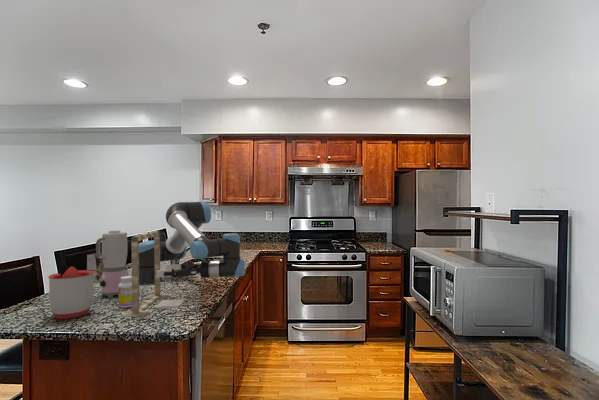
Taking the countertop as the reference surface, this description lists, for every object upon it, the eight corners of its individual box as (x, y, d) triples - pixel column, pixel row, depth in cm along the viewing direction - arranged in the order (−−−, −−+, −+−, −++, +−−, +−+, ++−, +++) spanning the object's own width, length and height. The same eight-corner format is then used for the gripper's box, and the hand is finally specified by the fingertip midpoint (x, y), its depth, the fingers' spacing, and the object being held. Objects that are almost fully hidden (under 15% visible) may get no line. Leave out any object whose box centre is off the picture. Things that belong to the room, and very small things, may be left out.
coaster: (162, 301, 159) (162, 299, 160) (184, 300, 160) (184, 299, 160) (155, 308, 150) (155, 306, 150) (178, 307, 150) (178, 305, 150)
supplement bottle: (122, 303, 157) (122, 275, 157) (137, 303, 157) (137, 275, 157) (115, 308, 150) (115, 278, 150) (131, 308, 150) (131, 278, 151)
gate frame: (149, 296, 169) (148, 230, 169) (168, 295, 169) (167, 230, 170) (122, 316, 139) (121, 237, 139) (145, 316, 140) (144, 236, 140)
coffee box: (97, 282, 200) (97, 254, 200) (86, 282, 200) (86, 254, 200) (106, 278, 209) (106, 252, 209) (96, 279, 209) (95, 252, 210)
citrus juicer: (84, 306, 154) (84, 261, 154) (100, 313, 143) (100, 265, 143) (42, 315, 142) (41, 266, 142) (55, 324, 131) (55, 271, 131)
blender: (119, 290, 181) (118, 229, 182) (134, 292, 176) (133, 230, 176) (89, 297, 167) (88, 231, 168) (104, 301, 162) (103, 232, 162)
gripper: (204, 283, 143) (152, 285, 141) (215, 271, 168) (170, 273, 166) (204, 265, 143) (151, 267, 141) (214, 256, 168) (170, 257, 166)
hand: (161, 270), depth 154 cm, fingers open, 13 cm apart
